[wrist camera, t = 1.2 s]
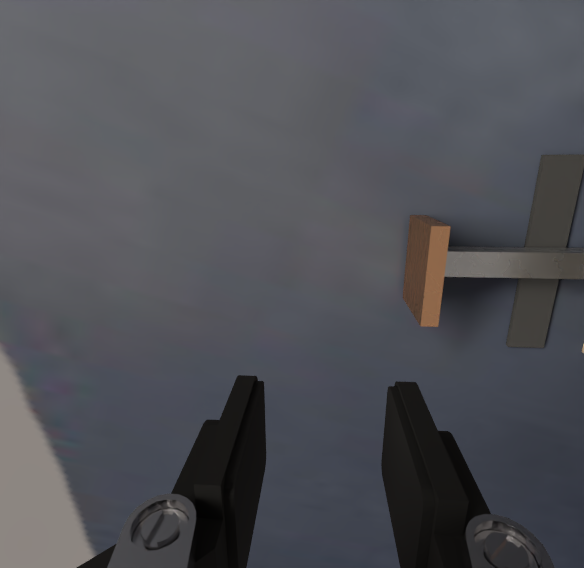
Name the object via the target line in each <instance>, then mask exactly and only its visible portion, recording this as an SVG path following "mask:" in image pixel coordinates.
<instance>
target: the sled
mask: <svg viewBox="0 0 584 568" xmlns="http://www.w3.org/2000/svg"><path fill="white" fill-rule="evenodd" d="M450 227H451V226H449V225H446V224H444V223H442V222H440V221H437V220H435V219H433V218H431V217H429V216H426V215H410V223H409V234H408V245H407V256H406V267H405V278H404V289H403V299H404V301H405V302H406V304H407V305H408V307H409V309H410V310H411V312H412V313H413V315H414V317H415V318H416V320H417V321H418V323H419V325H420V326H430V327H438V323H439V315H440V307H441V299H442V291H443V283H444V277H487V278H543V279H584V248H541V247H458V246H448V243H449V235H450Z"/></svg>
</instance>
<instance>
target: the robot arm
mask: <svg viewBox="0 0 584 568" xmlns="http://www.w3.org/2000/svg"><path fill="white" fill-rule="evenodd" d="M265 465H266V434H265V401H264V382H263V381H258V379H257V376H241V375H239V376H238V377H237V379H236V381H235V384H234V386H233V388H232V391H231V393H230V396H229V398H228V401H227V403H226V406H225V408H224V411H223V413H222V416H221V418H220V420H206V421H205V422H204V424H203V426H202V428H201V430H200V432H199V435H198V437H197V439H196V441H195V443H194V445H193V448H192V450H191V452H190V454H189V456H188V458H187V461H186V463H185V465H184V467H183V469H182V471H181V473H180V476H179V478H178V480H177V482H176V484H175V486H174V489H173V491H172V493H171V494H164V495H158V496H156V497H153V498H151V499H149V500H147V501H145V502H144V503H142V504H141V505H140V506H138V507H137V508H136V509H135V510H134V511H133V512H132V513H131V514H130V515H129V517H128V519H127V521H126V522H125V524H124V526H123V529H122V531H121V534H120V536H119V539H118V541H117V544H115V545H114V546H112V547H110V548H109V549H107V550H105V551H104V552H102V553H100V554H99V555H97V556H95V557H94V558H92V559H90V560H89V561H87V562H86V563H84V564H82V565H80V566H79V567H77V568H246V567H247V561H248V556H249V551H250V546H251V540H252V535H253V530H254V524H255V519H256V514H257V509H258V503H259V498H260V493H261V487H262V482H263V477H264V472H265ZM382 476H383V481H384V486H385V491H386V496H387V502H388V507H389V512H390V517H391V522H392V527H393V532H394V537H395V542H396V547H397V552H398V557H399V563H400V568H555V567H554V565H553V562H552V560H551V558H550V556H549V554H548V552H547V551H546V549H545V547H544V546H543V544H542V543H541V542H540V541H539V540H538V539H537V538H536V537H535V535H534V534H533V533H531V532H530V531H529V530H527V529H526V528H525V527H523V526H522V525H521V524H519V523H517V522H515V521H513V520H511V519H509V518H506V517H503V516H499V515H495V514H491V513H490V511H489V509H488V507H487V505H486V503H485V501H484V499H483V497H482V494H481V492H480V490H479V488H478V486H477V484H476V482H475V480H474V478H473V476H472V474H471V472H470V470H469V468H468V466H467V464H466V462H465V460H464V458H463V456H462V454H461V452H460V450H459V447H458V445H457V443H456V441H455V439H454V437H453V436H452V434H451V433H450V432H448V431H438V430H437V428H436V426H435V424H434V421H433V419H432V417H431V414H430V412H429V410H428V408H427V405H426V403H425V401H424V399H423V396H422V394H421V392H420V390H419V387H418V385H417V383H416V382H395V386H394V387H392V386H389V387H388V392H387V404H386V416H385V427H384V439H383V451H382Z"/></svg>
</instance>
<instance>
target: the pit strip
mask: <svg viewBox="0 0 584 568" xmlns="http://www.w3.org/2000/svg"><path fill="white" fill-rule="evenodd" d="M583 169H584V155H542V156H541V161H540V166H539V172H538V177H537V182H536V188H535V193H534V198H533V204H532V209H531V214H530V220H529V225H528V230H527V236H526V241H525V246H524V247H541V248H566V245H567V241H568V236H569V232H570V227H571V223H572V218H573V214H574V209H575V205H576V200H577V196H578V191H579V187H580V182H581V178H582V173H583ZM558 281H559V279H543V278H518V283H517V289H516V294H515V299H514V305H513V310H512V315H511V321H510V326H509V331H508V337H507V342H506V345H507V346H508V347H533V348H544V344H545V340H546V335H547V331H548V326H549V322H550V317H551V313H552V308H553V304H554V299H555V295H556V290H557V286H558Z"/></svg>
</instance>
